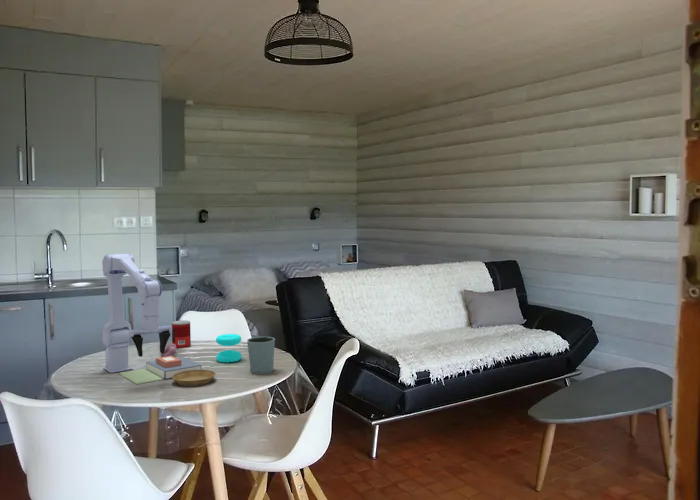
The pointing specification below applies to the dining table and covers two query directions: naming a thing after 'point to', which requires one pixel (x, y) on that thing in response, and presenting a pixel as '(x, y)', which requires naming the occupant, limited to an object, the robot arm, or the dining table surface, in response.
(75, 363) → the dining table surface
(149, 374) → the felt mat
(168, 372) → the book deck
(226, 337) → the donuts
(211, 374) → the plant saucer
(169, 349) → the pink rounded piece
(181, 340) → the canned food
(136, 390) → the dining table surface
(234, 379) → the dining table surface
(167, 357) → the card box
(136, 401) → the dining table surface
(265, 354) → the grey plant pot
